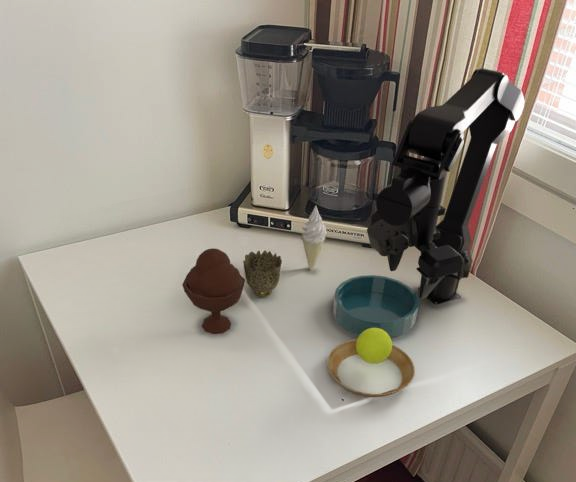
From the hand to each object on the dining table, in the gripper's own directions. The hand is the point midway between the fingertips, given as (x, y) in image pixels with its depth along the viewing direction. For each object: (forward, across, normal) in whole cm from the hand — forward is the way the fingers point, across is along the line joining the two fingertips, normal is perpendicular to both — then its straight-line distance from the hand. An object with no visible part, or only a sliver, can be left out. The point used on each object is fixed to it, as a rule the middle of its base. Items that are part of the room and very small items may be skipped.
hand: (407, 283), depth 106 cm
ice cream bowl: (+12, -16, -30) cm, 36 cm away
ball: (+8, +8, -11) cm, 16 cm away
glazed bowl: (+12, -7, -1) cm, 14 cm away
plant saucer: (+12, +8, -11) cm, 18 cm away
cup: (+12, -22, -18) cm, 31 cm away
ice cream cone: (+12, -26, -5) cm, 29 cm away
